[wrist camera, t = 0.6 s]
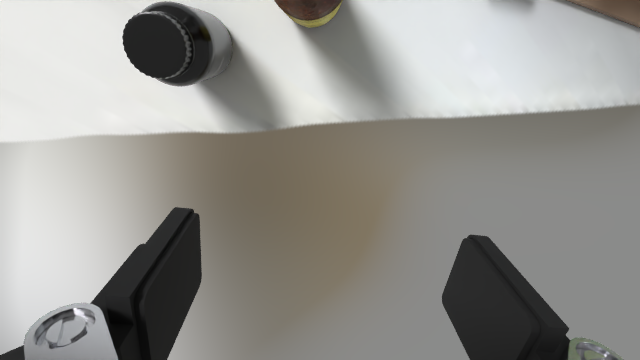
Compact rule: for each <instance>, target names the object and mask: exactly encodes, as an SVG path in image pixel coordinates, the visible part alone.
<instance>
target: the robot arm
mask: <svg viewBox="0 0 640 360" xmlns="http://www.w3.org/2000/svg"><path fill="white" fill-rule="evenodd" d="M200 247H201V246H200V220H199V215H198V214H197V213H194V210H193V209H189V208H177V207H175V208H174V209H173V210H172V211H171V212H170V214H169V215H168V216H167V217H166V219H165V220H164V221H163V222H162V224H161V225H160V226H159V227H158V229H157V230H156V231H155V232H154V234H153V235H152V236H151V237H150V239H149V240H148V241H147V242H146V244H141V245H139V246H138V247H137V248H136V249H135V250H134V251H133V253H132V254H131V255H130V256H129V257H128V259H127V260H126V261H125V262H124V263H123V265H122V266H121V267H120V268H119V270H118V271H117V272H116V273H115V274H114V276H113V277H112V278H111V280H110V281H109V282H108V283H107V284H106V285H105V286H104V288H103V289H102V290H101V291H100V293H99V294H98V295H97V296H96V297H95V299H94V300H93V301H92V302H91V303H90V304H88V303H77V304H71V305H67V306H63V307H60V308H58V309H56V310H54V311H51V312H49V313H48V314H46V315H45V316H43V317H41V318H40V319H39V320H38V321H36V322H35V323H34V324H33V325H32V326H31V327H30V329H29V330H28V332H27V333H26V335H25V339H24V345H23V346H21V347H18V348H16V349H14V350H11V351H9V352H7V353H5V354H2V355H0V360H167V358H168V356H169V354H170V351H171V349H172V347H173V345H174V343H175V340H176V338H177V336H178V333H179V331H180V329H181V327H182V325H183V322H184V320H185V317H186V316H187V313H188V311H189V309H190V306H191V304H192V302H193V300H194V298H195V295H196V293H197V291H198V289H199V286H200V283H201V276H202V273H201V248H200ZM442 302H443V306H444V308H445V310H446V312H447V314H448V316H449V318H450V320H451V322H452V324H453V326H454V328H455V330H456V332H457V334H458V336H459V338H460V340H461V342H462V344H463V346H464V348H465V350H466V352H467V354H468V356H469V358H470V360H624V359H622V358H621V357H620V356H619V355H618V354H616V353H615V352H614V351H612V350H610V349H609V348H607V347H605V346H604V345H602V344H600V343H598V342H595V341H593V340H590V339H586V338H574V339H572V340H569V339H568V338H567V337H566V333H567V332H568V330H569V328H568V327H567V326H566V324H565V323H564V322H563V321H562V320H561V319H560V318H559V316H558V315H557V314H556V313H555V312H554V311H553V310H552V309H551V308H550V306H549V305H548V304H547V303H546V302H545V301H544V299H543V298H542V297H541V296H540V295H539V294H538V293H537V292H536V290H535V289H534V288H533V287H532V286H531V285H530V284H529V282H528V281H527V280H526V279H525V278H524V277H523V276H522V275H521V273H520V272H519V271H518V270H517V269H516V268H515V267H514V266H513V264H512V263H511V262H510V261H509V260H508V259H507V258H506V256H505V255H504V254H503V253H502V252H501V251H500V250H499V249H498V247H497V246H496V245H495V244H494V243H493V242H492V241H491V239H490V238H489V237H487V236H478V235H469V236H468V237H467V238H465V239H463V241H462V243H461V246H460V249H459V251H458V254H457V256H456V259H455V262H454V265H453V268H452V270H451V273H450V275H449V278H448V281H447V284H446V286H445V289H444V292H443V295H442Z"/></svg>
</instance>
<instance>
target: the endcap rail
mask: <svg viewBox="0 0 640 360" xmlns="http://www.w3.org/2000/svg"><path fill="white" fill-rule="evenodd" d="M567 1H570V2H573V3H575V4H578V5H581V6H583V7H586V8H589V9H591V10H594V11H597V12H599V13H602V14H605V15H607V16H610V17H612V18H615V19H618V20H620V21H623V22H626V23H628V24H631V25H634V26H636V27H639V28H640V0H567Z"/></svg>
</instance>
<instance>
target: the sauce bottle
mask: <svg viewBox="0 0 640 360" xmlns="http://www.w3.org/2000/svg"><path fill="white" fill-rule="evenodd" d="M274 1H275V2H276V3H277V5H278V6H279V7H280V8H281V9H282V10H283V11H284V12H285V13H286V14H287V15H288V16H289V17H290V18H291V19H292V20H293V21H294V22H296V23H297V24H299V25H302V26H304V27H308V28H312V27H318V26H321V25H324V24H326V23H327V22H329V21H330V20H331V19H332V18H333V17H334V16H335V14H336V13H337V11H338V10H339V7H340V5H341V3H342V1H343V0H274Z"/></svg>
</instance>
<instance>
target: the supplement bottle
mask: <svg viewBox="0 0 640 360" xmlns="http://www.w3.org/2000/svg"><path fill="white" fill-rule="evenodd" d="M123 33H124V34H123V36H122V38H123V45H124V50H125V52H126V53H127V57H128V58H129V59H130V62H131V63H132V64H134V66H135V68H137V69H139V71H140V72H142V73H144V74H145V75H147V76H151V77H152V78H156V79H157V80H159V81H161V82H163V83H165V84H168V85H172V86H188V85H192V84H195V83H198V82H201V81H204V80H207V79H209V78H212V77H215V76H217V75H219V74H220V73H222V72H223V71H224V70H225V69H226V68H227V66H228V65H229V63H230V60H231V57H232V41H231V37H230V35H229V32H228V30H227V29H226V27H225V26H224V25H223V23H222V22H221V21H220V20H219V19H217V18H216V17H215V16H213V15H212V14H210V13H207V12H205V11H202V10H199V9H196V8H192V7H189V6H186V5H183V4H179V3H175V2H166V1H165V2H157V3H154V4H152V5H150V6H148V7H146V8H145V9H144V10H143V11H142V12H141V13H138V14H137V15H134V16H133V17H132V19H129V21H128V23H127V24H126V25H125V29H124V30H123Z"/></svg>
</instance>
